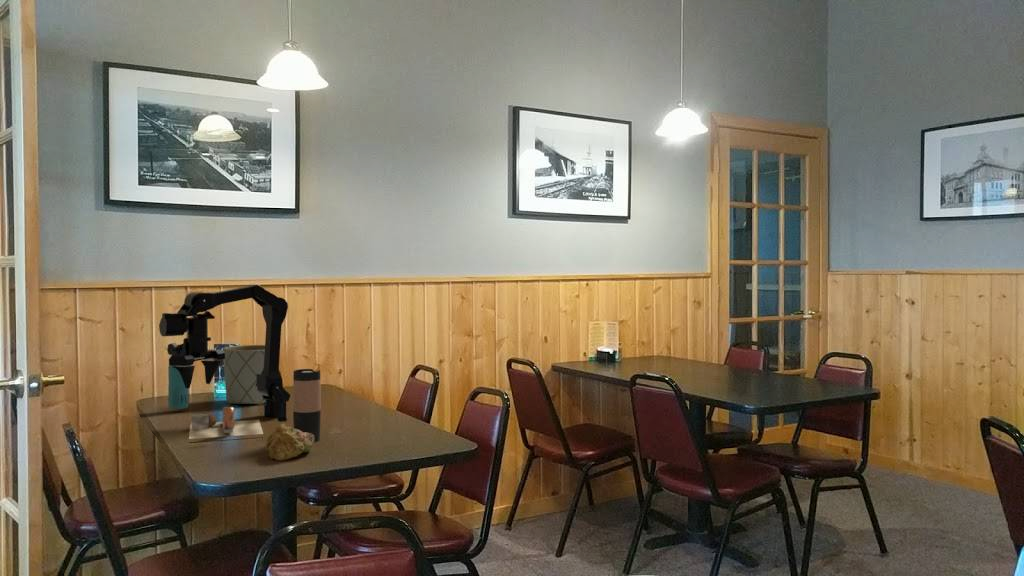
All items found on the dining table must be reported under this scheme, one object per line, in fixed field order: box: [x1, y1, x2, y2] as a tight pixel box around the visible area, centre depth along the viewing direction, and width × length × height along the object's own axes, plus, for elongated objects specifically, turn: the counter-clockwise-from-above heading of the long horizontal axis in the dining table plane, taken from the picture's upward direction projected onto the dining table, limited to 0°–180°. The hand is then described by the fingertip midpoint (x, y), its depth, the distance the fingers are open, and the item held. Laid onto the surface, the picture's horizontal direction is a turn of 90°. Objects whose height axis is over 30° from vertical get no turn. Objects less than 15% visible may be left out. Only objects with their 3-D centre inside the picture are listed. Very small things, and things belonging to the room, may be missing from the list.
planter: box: [222, 344, 266, 406], centre depth 285 cm, size 19×19×20 cm
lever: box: [222, 406, 235, 433], centre depth 232 cm, size 21×3×7 cm, turn 21°
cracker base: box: [188, 413, 264, 444], centre depth 233 cm, size 20×22×5 cm
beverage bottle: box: [167, 364, 190, 410], centre depth 266 cm, size 6×7×20 cm
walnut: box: [208, 414, 217, 427], centre depth 236 cm, size 4×4×4 cm
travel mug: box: [292, 368, 322, 443], centre depth 224 cm, size 8×8×20 cm
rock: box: [264, 422, 315, 461], centre depth 205 cm, size 12×9×10 cm
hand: (198, 386), depth 235 cm, fingers open, 9 cm apart
